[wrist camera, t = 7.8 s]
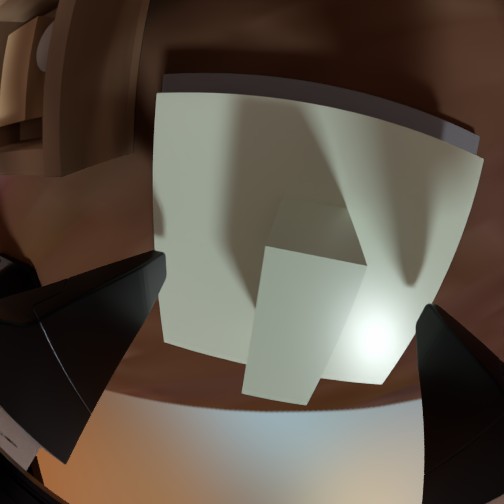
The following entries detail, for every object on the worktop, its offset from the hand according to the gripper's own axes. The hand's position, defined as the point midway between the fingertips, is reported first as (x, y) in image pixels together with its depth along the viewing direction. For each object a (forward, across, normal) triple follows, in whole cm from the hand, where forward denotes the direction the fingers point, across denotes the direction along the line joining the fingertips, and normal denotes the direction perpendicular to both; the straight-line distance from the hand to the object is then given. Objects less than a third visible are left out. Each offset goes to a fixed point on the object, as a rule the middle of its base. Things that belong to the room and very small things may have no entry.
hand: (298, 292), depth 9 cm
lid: (+3, 0, 0) cm, 3 cm away
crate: (+4, +13, -8) cm, 16 cm away
